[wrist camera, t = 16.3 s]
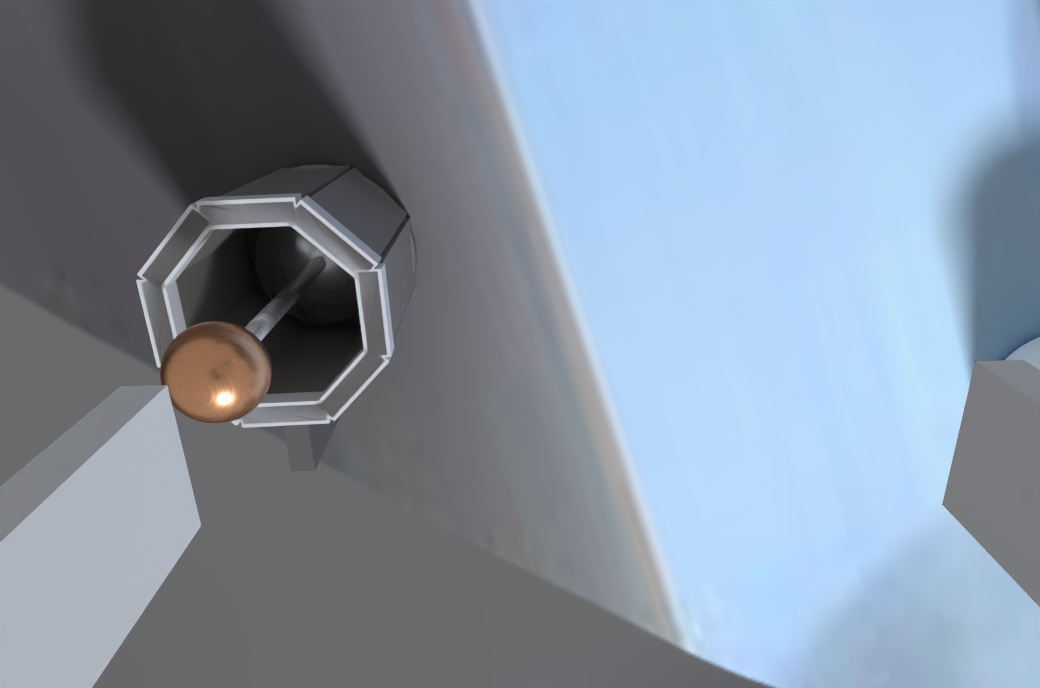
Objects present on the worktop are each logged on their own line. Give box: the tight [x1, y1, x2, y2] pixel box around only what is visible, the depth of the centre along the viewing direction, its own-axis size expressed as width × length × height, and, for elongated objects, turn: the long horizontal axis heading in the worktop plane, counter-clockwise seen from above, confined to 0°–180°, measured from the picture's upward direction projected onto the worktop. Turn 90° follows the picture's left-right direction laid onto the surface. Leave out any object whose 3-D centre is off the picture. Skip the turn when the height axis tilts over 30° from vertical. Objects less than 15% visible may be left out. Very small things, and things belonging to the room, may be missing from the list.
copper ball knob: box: [160, 226, 359, 424], centre depth 38 cm, size 8×8×21 cm
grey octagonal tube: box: [136, 164, 416, 471], centre depth 44 cm, size 16×12×14 cm
